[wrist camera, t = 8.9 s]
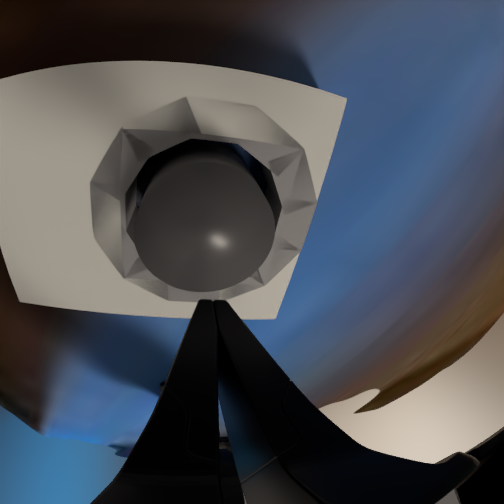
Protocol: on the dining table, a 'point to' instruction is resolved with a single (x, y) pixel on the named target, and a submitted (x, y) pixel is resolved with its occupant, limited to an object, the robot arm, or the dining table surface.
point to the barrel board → (128, 166)
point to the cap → (203, 220)
